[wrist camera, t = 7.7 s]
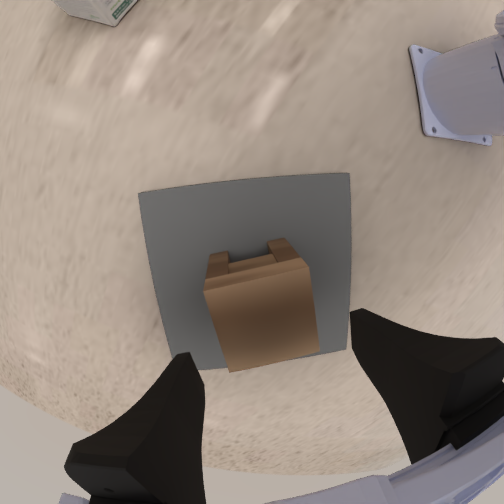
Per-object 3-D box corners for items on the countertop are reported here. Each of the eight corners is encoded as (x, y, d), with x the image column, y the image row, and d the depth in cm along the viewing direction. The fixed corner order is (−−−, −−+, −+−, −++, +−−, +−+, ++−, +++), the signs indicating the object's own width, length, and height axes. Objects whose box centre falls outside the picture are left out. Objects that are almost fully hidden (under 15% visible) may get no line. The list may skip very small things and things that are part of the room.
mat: (347, 172, 18) (349, 173, 18) (344, 346, 22) (346, 349, 22) (139, 193, 18) (137, 193, 17) (176, 368, 22) (176, 371, 21)
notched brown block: (295, 303, 20) (319, 351, 15) (227, 319, 20) (229, 372, 15) (284, 237, 19) (308, 266, 13) (209, 254, 19) (203, 291, 13)
